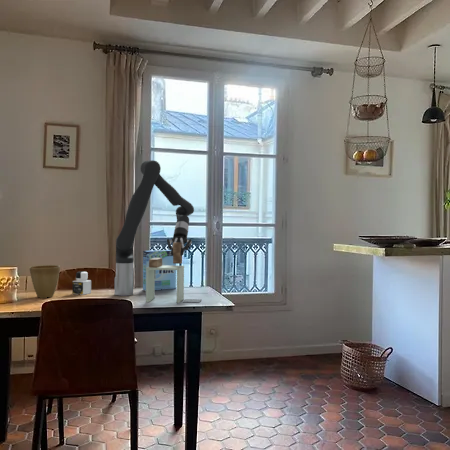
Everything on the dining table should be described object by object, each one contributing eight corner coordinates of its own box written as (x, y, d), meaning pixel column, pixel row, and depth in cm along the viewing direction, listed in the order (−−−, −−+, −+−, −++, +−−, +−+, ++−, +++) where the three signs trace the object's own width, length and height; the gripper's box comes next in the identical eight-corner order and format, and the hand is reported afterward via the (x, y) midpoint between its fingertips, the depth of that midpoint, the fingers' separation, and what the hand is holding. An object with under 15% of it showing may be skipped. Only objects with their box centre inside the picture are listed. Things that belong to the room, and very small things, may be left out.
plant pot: (43, 294, 248) (43, 264, 247) (66, 295, 243) (66, 265, 242) (22, 298, 233) (22, 267, 233) (46, 300, 228) (46, 268, 228)
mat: (182, 302, 225) (182, 301, 225) (185, 299, 233) (185, 298, 233) (199, 303, 224) (199, 302, 224) (201, 300, 232) (201, 299, 232)
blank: (173, 263, 241) (173, 242, 241) (174, 262, 245) (174, 242, 245) (180, 263, 240) (180, 242, 240) (182, 262, 244) (181, 242, 244)
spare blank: (149, 267, 226) (149, 259, 226) (154, 265, 237) (154, 257, 237) (157, 267, 225) (157, 259, 225) (162, 265, 236) (162, 257, 236)
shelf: (145, 302, 225) (145, 267, 225) (152, 297, 238) (152, 265, 238) (178, 303, 223) (179, 268, 223) (183, 298, 236) (184, 265, 236)
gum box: (172, 287, 276) (172, 249, 276) (176, 288, 272) (176, 250, 272) (142, 290, 265) (142, 250, 265) (146, 291, 261) (146, 251, 261)
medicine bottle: (72, 294, 249) (72, 272, 249) (80, 292, 255) (81, 270, 255) (82, 295, 246) (82, 272, 246) (91, 293, 253) (91, 271, 252)
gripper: (167, 226, 250) (162, 250, 238) (193, 226, 249) (189, 250, 237) (169, 235, 256) (164, 259, 244) (194, 235, 254) (191, 259, 243)
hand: (177, 254), depth 241 cm, fingers closed on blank, 4 cm apart
